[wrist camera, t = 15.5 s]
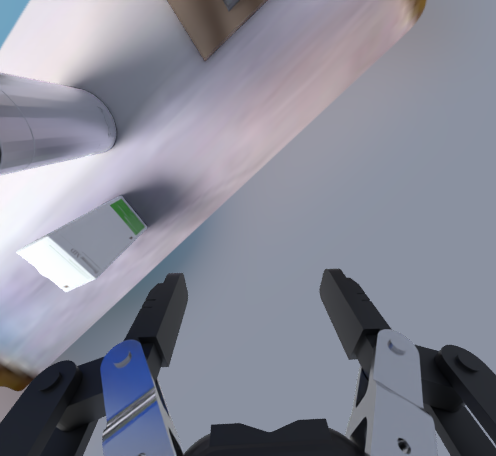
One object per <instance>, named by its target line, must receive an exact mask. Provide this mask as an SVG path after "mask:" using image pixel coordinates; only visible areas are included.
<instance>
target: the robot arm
mask: <svg viewBox="0 0 496 456" xmlns="http://www.w3.org/2000/svg"><path fill="white" fill-rule="evenodd" d="M115 140H116V126H115V122H114V119H113V117H112V115H111V113H110V112H109V110H108V108H107V107H106V106H105V105H104V104H103V102H102V101H100V100H99V99H98V98H97V97H96V96H94V95H93V94H91V93H90V92H87V91H85V90H83V89H78V88H73V87H69V86H64V85H59V84H55V83H50V82H45V81H40V80H35V79H29V78H24V77H19V76H14V75H9V74H4V73H0V175H4V174H9V173H14V172H18V171H22V170H26V169H31V168H35V167H40V166H44V165H49V164H53V163H58V162H63V161H67V160H72V159H76V158H81V157H86V156H90V155H95V154H99V153H103V152H106V151H108V150H109V149H110V148H111V147H112V146H113V145H114V143H115ZM320 296H321V300H322V302H323V304H324V306H325V308H326V311H327V313H328V315H329V317H330V319H331V322H332V323H333V326H334V328H335V330H336V332H337V335H338V337H339V339H340V341H341V343H342V346H343V348H344V350H345V352H346V354H347V356H348V358H349V360H351V359H358V361H359V363H360V365H361V366H360V368H359V373H358V379H357V385H356V391H355V397H354V403H353V408H352V412H351V416H350V418H349V421H348V425H347V429H346V434H345V436H344V435H342V434H341V433H339V432H337V431H335V430H333V429H331V428H328V425H327V422H326V419H310V420H297V421H295V422H293V423H291V424H288V425H286V426H284V427H282V428H280V429H278V430H275V431H273V432H266V431H262V430H259V429H256V428H253V427H250V426H246V425H244V424H240V423H235V424H217V425H211V433H210V434H208V435H206V436H204V437H203V438H201V439H199V440H198V441H197V442H195V443H194V444H193V445H192V446H191V447H190V448H189V449H188V450H187V451H186V452H185V453H184V451H183V448H182V445H181V442H180V439H179V436H178V434H177V431H176V429H175V426H174V424H173V421H172V419H171V416H170V413H169V410H168V407H167V404H166V402H165V398H164V395H163V393H162V390H161V387H160V384H159V381H158V378H157V377H158V374H159V371H160V368H161V367H169V364H170V360H171V357H172V354H173V350H174V347H175V343H176V340H177V336H178V333H179V329H180V326H181V323H182V319H183V315H184V312H185V309H186V305H187V301H188V291H187V287H186V283H185V278H184V275H183V273H171V274H170V273H169V274H168V275H167V276H166V278H165V281H164V283H160V284H159V283H158V284H157V285H156V286H155V287H154V288H153V289H152V290H151V291H150V292H149V294H148V296H147V298H146V301H145V302H144V304H143V305H142V309H140V311H139V313H138V315H137V317H136V319H135V321H134V323H133V324H132V326H131V328H130V330H129V332H128V334H127V336H126V338H125V339H124V341H123V342H121V343H119V344H117V345H116V346H114V347H113V348H112V349H111V350H110V351H109V352H108V353H107V354H106V355H105V356H104V357H102V358H99V359H97V360H94V361H91V362H88V363H85V364H82V365H79V366H76V365H75V363H74V362H72V361H69V360H68V361H67V360H66V361H61V362H58V363H56V364H54V365H52V366H50V367H48V368H46V369H45V370H44V371H42V372H41V373H40V374H39V375H38V376H37V377H36V378H35V379H34V380H33V381H32V382H31V383H30V384H29V386H28V387H27V389H26V390H25V391H24V393H23V394H22V395H21V396H20V398H19V399H18V401H17V402H16V403H15V404H14V406H13V407H12V408H11V410H10V411H9V412H8V414H7V415H6V416H5V418H4V419H3V420H2V422H1V423H0V456H83V454H84V452H85V449H86V447H87V445H88V442H89V440H90V438H91V436H92V433H93V431H94V429H95V426H96V424H97V422H98V419H99V418H102V417H104V416H106V418H107V427H106V429H105V430H104V432H103V436H102V445H103V455H104V456H438V453H437V444H436V434H435V430H436V431H437V433H438V435H439V436H440V438H441V440H442V442H443V443H444V445H445V447H446V448H447V450H448V452H449V453H450V455H451V456H496V448H495V447H494V445H493V444H492V443H491V441H490V440H489V439H488V437H487V436H486V435H485V433H484V432H483V430H482V429H481V428H480V427H479V425H478V424H477V422H476V421H475V420H474V418H473V417H472V416H471V414H470V413H469V412H468V410H467V409H466V408H465V405H467V407H468V408H469V409H470V411H471V412H472V413H473V415H474V416H475V417H476V418H477V420H478V421H479V423H480V424H481V425H482V427H483V428H484V429H485V431H486V432H487V433H488V435H489V436H490V437H491V439H492V440H493V441H494V443H495V444H496V375H495V374H494V373H493V372H492V371H491V370H490V369H489V368H488V367H487V366H486V364H485V363H483V362H482V361H481V360H480V359H479V358H478V357H476V356H475V355H474V354H472V353H471V352H469V351H467V350H465V349H463V348H460V347H458V346H454V345H446V346H444V347H442V349H441V350H440V351H436V350H432V349H429V348H424V347H421V346H417V345H414V344H413V343H412V342H411V341H410V340H409V339H408V338H407V337H405V336H404V335H402V334H401V333H399V332H397V331H394V330H392V329H391V328H390V327H389V325H388V324H387V323H386V321H385V320H384V319H383V317H382V316H381V314H380V313H379V312H378V310H377V309H376V307H375V306H374V305H373V303H372V302H371V301H370V299H369V298H368V297H367V295H366V294H365V292H364V291H363V290H362V288H361V287H360V286H359V284H357V283H356V282H355V281H353V280H352V279H351V278H346V276H345V275H344V274H343V272H342V271H341V270H340V269H325V271H324V273H323V277H322V282H321V285H320Z"/></svg>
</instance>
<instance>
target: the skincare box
mask: <svg viewBox="0 0 496 456" xmlns="http://www.w3.org/2000/svg"><path fill="white" fill-rule="evenodd" d="M146 229H147V226H146V224H145V223H144V222H143V221H142V220H141V218H140V217H139V216H138V215H137V214H136V212H135V211H134V210H133V209H132V207H131V206H130V205H129V204H128V203H127V201H126V200H125V199H124V198H123V196H121V195H120V196H118V197H116V198H114V199H112V200H110V201H108V202H106V203H104V204H102V205H101V206H99V207H97V208H95V209H93V210H91V211H90V212H88V213H86V214H84V215H82V216H80V217H78V218H77V219H75V220H73V221H71V222H69V223H67V224H65V225H64V226H62V227H60V228H58V229H56V230H54V231H53V232H51V233H49V234H47V235H45V236H43V237H41V238H40V239H38V240H36V241H34V242H32V243H31V244H29V245H27V246H25V247H23V248H21V249H20V250H18V251H16V252H17V253H18V254H19V255H21V256H22V257H23V258H24V259H25V260H27V261H28V262H29V263H30V264H32V265H33V266H34V267H35V268H36V269H37V270H38V272H39V273H40V274H42V275H43V276H45V277H47V278H49V279H50V280H51V281H53V282H54V283H55V284H56V285H58V286H59V287H60V288H61V289H63V290H64V291H65V292H68V291H71V290H73V289H75V288H77V287H79V286H81V285H84V284H86V283H88V282H90V281H92V280H95V279H97V278H98V277H99V276H100V275H101V274H102V273H103V272H104V270H106V269H107V268H108V267H109V266H110V265H111V264H112V263H113V262H114V261H115V260H116V259H117V258H118V257H119V256H120V255H121V254H122V253H123V252H124V251H125V250H126V249H127V248H128V247H129V246H130V245H131V244H132V243H133V242H134V241H135V240H136V239H137V238H138V237H139V236H140V235H141V234H142V233H143V232H144V231H145V230H146Z"/></svg>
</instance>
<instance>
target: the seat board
mask: <svg viewBox="0 0 496 456" xmlns="http://www.w3.org/2000/svg"><path fill="white" fill-rule="evenodd" d="M167 1H168V3H169V4H170V6H171V7H172V9H173V11H174V12H175V14H176V15H177V17H178V19H179V20H180V22H181V24H182V25H183V27H184V28H185V30H186V32H187V33H188V35H189V36H190V38H191V40H192V41H193V43H194V44H195V46H196V48H197V49H198V51H199V53H200V54H201V56H202V57H203V59H204V60H205V61H206V60H207V59H208V58H209V57H210V56H211V55H212V54H213V53H214V52H215V51H216V50H217V49H218V48H219V47H220V46H221V45H222V44H223V43H224V42H225V41H226V40H227V39H228V38H230V37H231V36H232V35H233V34H234V33H235V32H236V31H237V30H238V29H239V28H240V27H241V26H242V25H243V24H244V23H245V22H246V21H247V20H248V19H249V18H250V17H251V16H252V15H253V14H254V13H255V12H256V11H257V10H258V9H259V8H260V7H261V6H262V5H263V4H264V3H265V2H266V1H267V0H167Z"/></svg>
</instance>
